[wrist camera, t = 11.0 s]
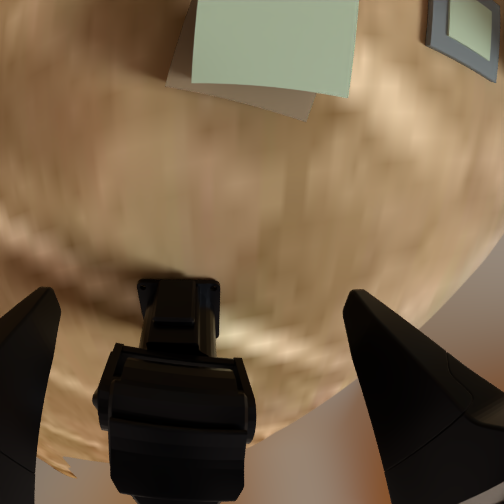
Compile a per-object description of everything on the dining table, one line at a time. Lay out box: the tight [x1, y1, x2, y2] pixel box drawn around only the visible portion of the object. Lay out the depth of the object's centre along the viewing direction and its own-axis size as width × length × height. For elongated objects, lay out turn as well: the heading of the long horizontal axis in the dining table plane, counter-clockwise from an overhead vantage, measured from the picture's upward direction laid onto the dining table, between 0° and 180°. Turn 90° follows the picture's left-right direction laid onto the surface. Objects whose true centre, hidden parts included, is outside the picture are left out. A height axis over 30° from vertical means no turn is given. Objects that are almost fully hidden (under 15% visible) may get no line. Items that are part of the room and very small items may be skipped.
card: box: [425, 0, 500, 83], centre depth 12 cm, size 8×8×1 cm
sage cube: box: [191, 0, 359, 98], centre depth 9 cm, size 5×5×5 cm
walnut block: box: [165, 0, 316, 122], centre depth 13 cm, size 7×7×4 cm
